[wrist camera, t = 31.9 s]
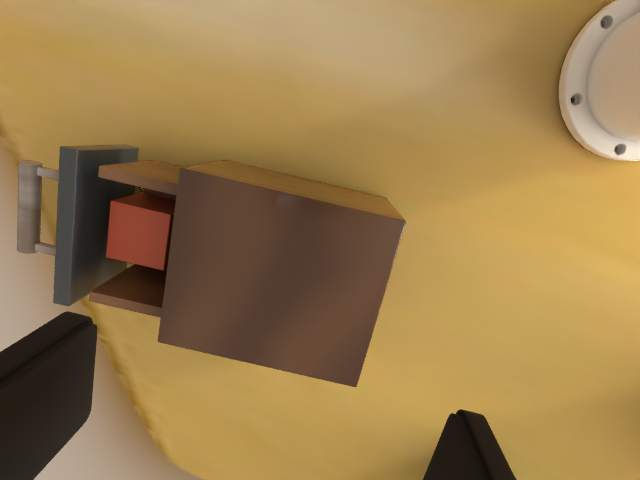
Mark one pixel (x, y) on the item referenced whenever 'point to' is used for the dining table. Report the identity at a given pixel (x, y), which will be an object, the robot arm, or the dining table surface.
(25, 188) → the drawer
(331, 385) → the dining table surface
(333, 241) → the cabinet
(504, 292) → the dining table surface
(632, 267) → the dining table surface
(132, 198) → the block
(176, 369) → the dining table surface
